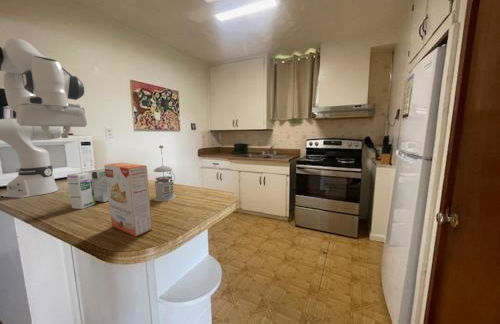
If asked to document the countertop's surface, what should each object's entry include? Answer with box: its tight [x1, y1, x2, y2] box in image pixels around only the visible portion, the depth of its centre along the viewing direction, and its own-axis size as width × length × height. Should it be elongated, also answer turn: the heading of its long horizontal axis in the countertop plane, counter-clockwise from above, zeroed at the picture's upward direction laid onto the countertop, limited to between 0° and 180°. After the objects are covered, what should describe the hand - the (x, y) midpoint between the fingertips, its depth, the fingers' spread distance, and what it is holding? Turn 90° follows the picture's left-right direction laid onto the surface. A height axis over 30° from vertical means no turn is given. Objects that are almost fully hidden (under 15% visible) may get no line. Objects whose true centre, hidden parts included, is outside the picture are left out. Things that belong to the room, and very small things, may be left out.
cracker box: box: [104, 162, 153, 238], centre depth 65 cm, size 14×6×21 cm, turn 58°
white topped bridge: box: [83, 167, 106, 179], centre depth 99 cm, size 16×10×14 cm
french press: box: [153, 145, 177, 202], centre depth 97 cm, size 10×12×25 cm
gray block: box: [92, 172, 109, 203], centre depth 94 cm, size 3×8×13 cm, turn 65°
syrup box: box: [66, 171, 96, 210], centre depth 87 cm, size 6×6×14 cm
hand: (58, 138), depth 81 cm, fingers open, 3 cm apart
